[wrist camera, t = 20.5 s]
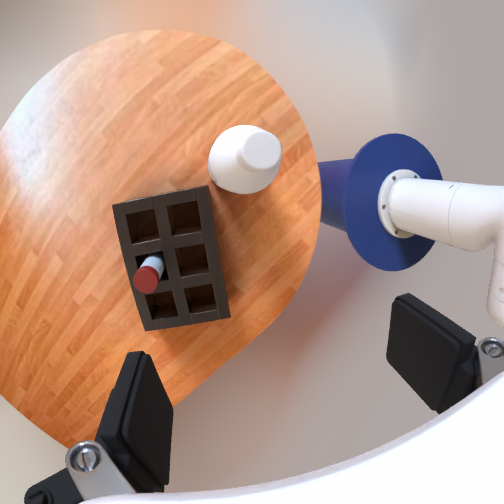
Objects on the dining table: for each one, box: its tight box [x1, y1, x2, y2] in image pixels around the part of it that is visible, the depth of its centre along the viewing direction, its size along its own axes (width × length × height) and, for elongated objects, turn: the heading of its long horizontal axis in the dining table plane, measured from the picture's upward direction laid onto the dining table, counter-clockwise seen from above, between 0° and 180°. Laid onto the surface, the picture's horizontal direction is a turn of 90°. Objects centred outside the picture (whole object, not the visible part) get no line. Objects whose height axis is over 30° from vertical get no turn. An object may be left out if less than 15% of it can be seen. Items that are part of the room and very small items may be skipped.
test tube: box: [133, 251, 166, 293], centre depth 34 cm, size 3×3×10 cm
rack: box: [112, 185, 231, 331], centre depth 37 cm, size 12×18×5 cm
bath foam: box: [208, 125, 282, 194], centre depth 28 cm, size 7×7×20 cm
